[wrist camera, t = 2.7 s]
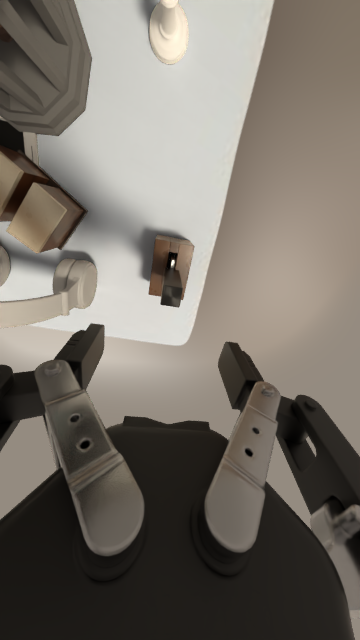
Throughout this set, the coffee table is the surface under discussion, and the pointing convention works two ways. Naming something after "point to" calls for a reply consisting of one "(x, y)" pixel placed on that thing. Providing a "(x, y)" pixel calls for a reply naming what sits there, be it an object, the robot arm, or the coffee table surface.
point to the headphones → (69, 291)
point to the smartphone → (19, 140)
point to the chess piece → (168, 31)
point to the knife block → (160, 258)
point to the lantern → (42, 65)
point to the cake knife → (171, 285)
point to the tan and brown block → (35, 204)
